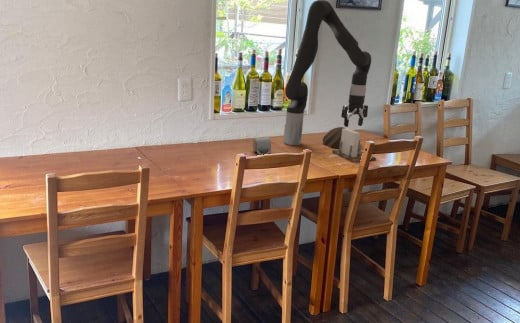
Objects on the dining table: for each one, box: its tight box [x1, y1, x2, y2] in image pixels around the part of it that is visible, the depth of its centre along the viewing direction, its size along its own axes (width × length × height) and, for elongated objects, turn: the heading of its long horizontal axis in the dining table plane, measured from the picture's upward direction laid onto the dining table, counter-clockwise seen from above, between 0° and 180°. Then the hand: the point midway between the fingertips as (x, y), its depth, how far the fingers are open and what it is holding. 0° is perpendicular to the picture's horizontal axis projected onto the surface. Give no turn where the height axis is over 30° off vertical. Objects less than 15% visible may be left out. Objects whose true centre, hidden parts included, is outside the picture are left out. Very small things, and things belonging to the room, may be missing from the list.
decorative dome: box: [322, 126, 346, 150], centre depth 265 cm, size 19×20×10 cm
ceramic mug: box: [252, 136, 272, 156], centre depth 240 cm, size 11×8×8 cm
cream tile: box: [341, 127, 360, 157], centre depth 243 cm, size 10×3×12 cm, turn 28°
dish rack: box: [331, 139, 377, 164], centre depth 244 cm, size 18×14×7 cm
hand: (352, 126), depth 240 cm, fingers open, 8 cm apart
